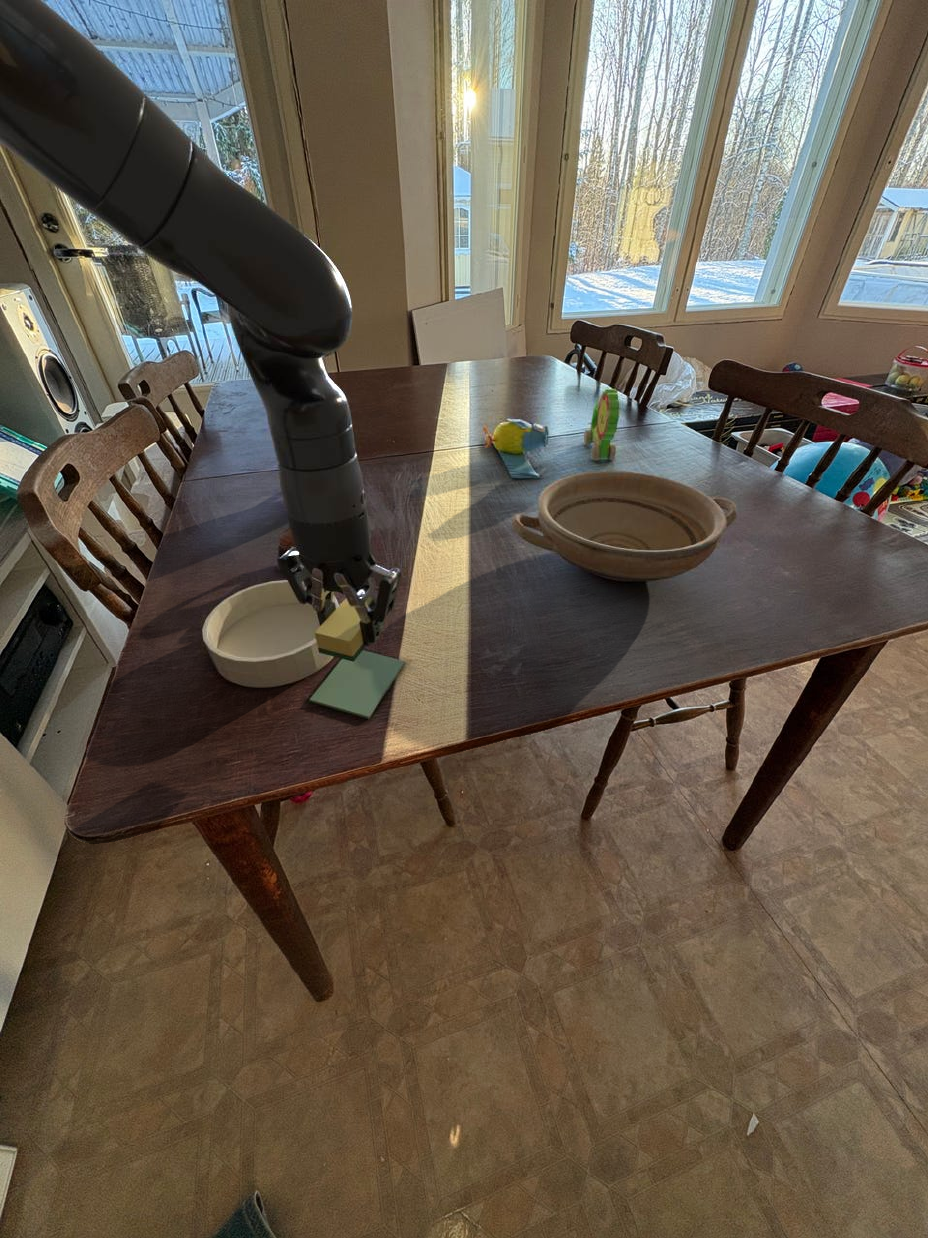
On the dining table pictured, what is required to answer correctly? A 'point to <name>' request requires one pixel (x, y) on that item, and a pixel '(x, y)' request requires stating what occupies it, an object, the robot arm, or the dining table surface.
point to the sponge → (341, 634)
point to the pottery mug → (285, 544)
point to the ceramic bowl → (627, 524)
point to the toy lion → (603, 426)
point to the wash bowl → (264, 636)
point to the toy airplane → (517, 445)
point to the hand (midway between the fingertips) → (351, 636)
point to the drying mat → (358, 684)
